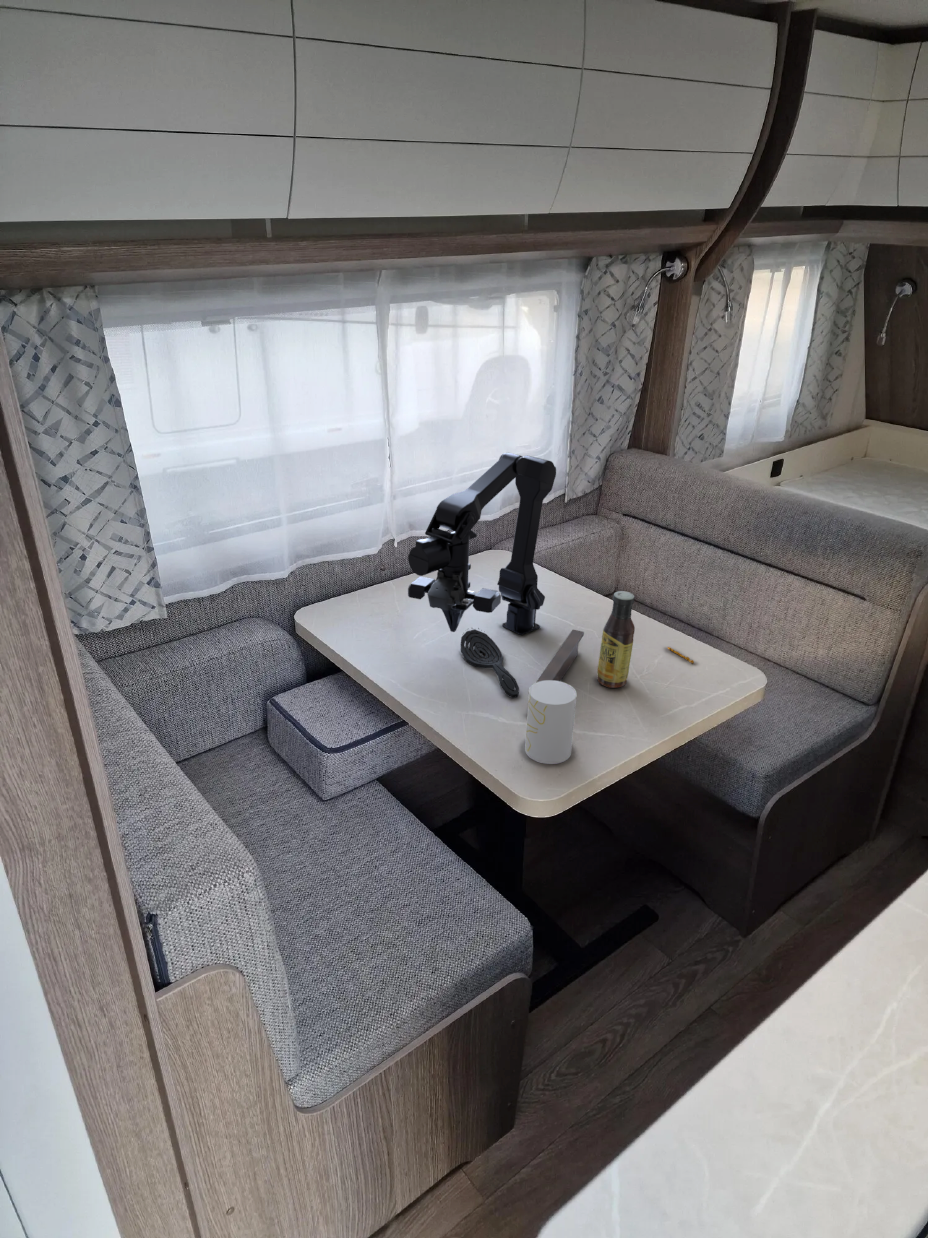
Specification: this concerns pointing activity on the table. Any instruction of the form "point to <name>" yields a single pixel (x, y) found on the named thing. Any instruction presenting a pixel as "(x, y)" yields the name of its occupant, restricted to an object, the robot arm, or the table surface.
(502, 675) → the hairbrush
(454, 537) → the robot arm
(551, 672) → the rail
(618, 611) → the sauce bottle
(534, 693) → the cup
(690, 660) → the golden brown bumpy stick
